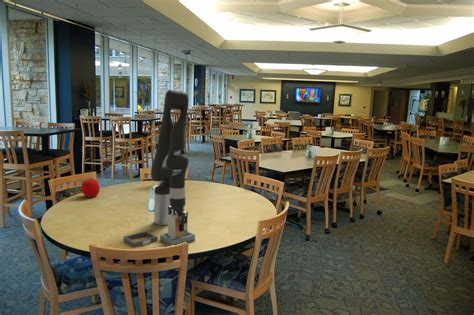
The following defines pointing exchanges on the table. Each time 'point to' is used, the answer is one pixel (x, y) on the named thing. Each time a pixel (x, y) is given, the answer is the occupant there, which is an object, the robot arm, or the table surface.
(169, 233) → the small box
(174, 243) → the tray
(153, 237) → the clip holder
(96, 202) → the table surface
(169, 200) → the robot arm
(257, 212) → the table surface
